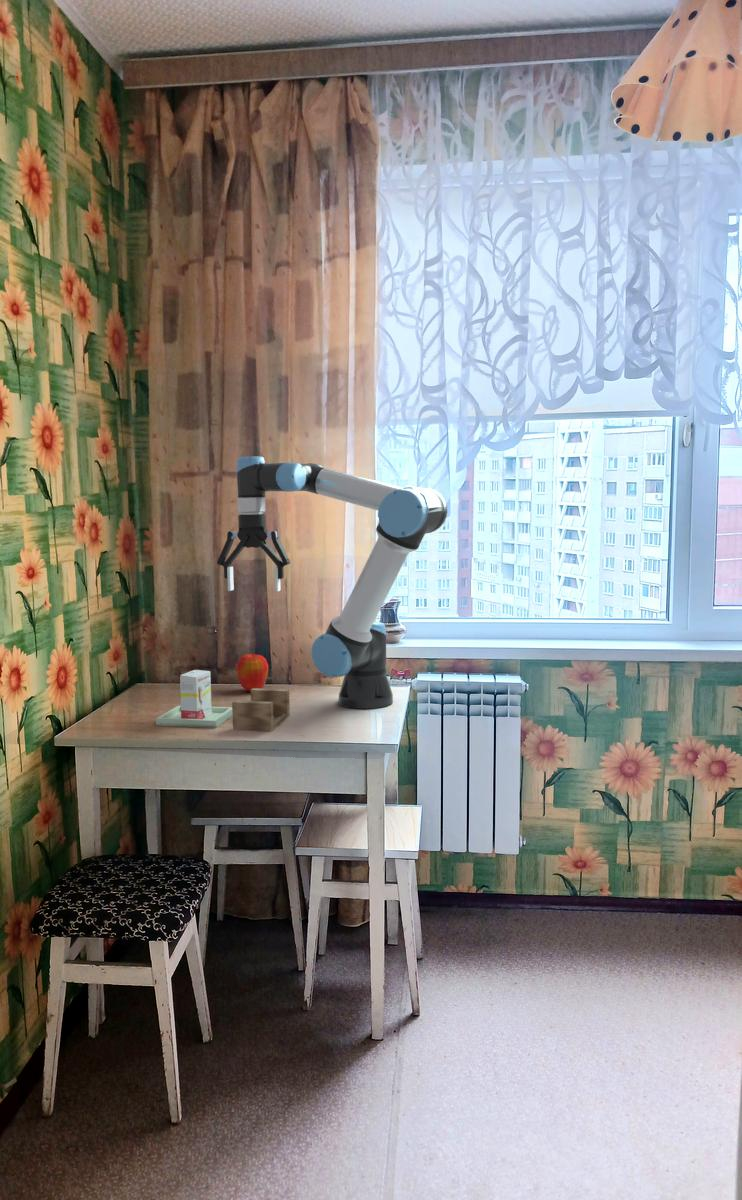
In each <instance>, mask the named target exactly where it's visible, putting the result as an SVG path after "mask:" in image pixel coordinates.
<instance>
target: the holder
mask: <svg viewBox="0 0 742 1200" xmlns="http://www.w3.org/2000/svg"><path fill="white" fill-rule="evenodd" d="M290 704H291V702H290V689H283V688H281V689H280V688H262V689H259V688H253V689H251V692H250V700H237V699H236V700H233V701H232V702H231V708H232V714H233V716H232V731H255V732H272V731H273V730H275V729H276V728H277V727H278V726H279V725H281V723H283V722H284V721H285V720H286V719H288V718H289V717H290V716H291V715H290V713H291V710H290V709H291V708H290V707H291V706H290ZM274 718H276V719H275V720H274Z"/></svg>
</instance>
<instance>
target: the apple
mask: <svg viewBox="0 0 742 1200" xmlns="http://www.w3.org/2000/svg"><path fill="white" fill-rule="evenodd" d="M236 673H237V677H238V680H239V683H240V686H241V687H242V688H243V689H244V690H245V691H246V692H250V693H251V689H253V688H259V689H264V687H265V684H266V682H267V678H268V675H269V664H268V661H267V659H266V658H265V657H264V656H263V655H260V654H256V653H255V654H254V653H253V652H251V653H247V654H244V655H241V657H240V658H239V659H238V662H237V665H236Z"/></svg>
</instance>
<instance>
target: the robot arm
mask: <svg viewBox="0 0 742 1200" xmlns="http://www.w3.org/2000/svg"><path fill="white" fill-rule="evenodd" d="M235 473H236V482H237V512H238V513H239V514H238V516H237V517H238V518H237V520H238V523H237V524H238V531H233V530H230V531H227V535H226V536H227V537H226V541H225V543H224V544H223V547H222V550H221V552H220V555H219V557H218V559H217V561H216V564H217V565H218V566H222V567H223V577H224V579H225V580H226V579H227V592H231V591H234V590H235V586H234V584H235V583H234V566H232V564H233V563H234V561H235V560H236V558H237V557H238V556H239V555H240V553H241V552H242V551H243V550H244V548H255V549H256V548H257V549H258V548H261V549H262V550H263V551H264V553H266V555H267V556H268V557H269V559H270V560H272V562H273V563H274V564H275V565H276V566H275V567H274V591H275V592H280V591H281V588H282V587H281V585H282V584H281V580H283V579H284V576H285V575H284V567H286V566H288V565H290V564H291V561H290V559H289V557H288V555H287V553H286V551H285V549H284V546H283V544H282V543H281V541H280V539H279V534H278V530H273V531H269V532H268V531H267V516H266V514H265V513H266V511H267V510H266V504H267V503H266V492H286V493H289V492H290V493H291V492H292V493H293V492H308V493H312V494H316V495H319V496H324V497H328V498H332V499H335V500H339V501H342V502H345V503H350V504H353V505H356V506H360V507H363V508H368V509H371V510H375V511H377V517H378V524H377V525H376V529H375V531H376V534H377V540H376V542H375V543H374V546H373V548H372V550H371V552H370V554H369V556H368V558H367V560H366V561H365V564H364V566H363V568H362V570H361V573H360V574H359V576H358V578H357V580H356V582H355V584H354V587H353V589H352V590H351V592H350V595H349V597H348V598H347V601H346V603H345V605H344V608H343V609H342V611H341V613H340V615H338V616H334V617H332V619H331V620H330V622H329V624H328V627H327V628H326V630H325V633H323V634H321V635H319V636H317V638H315V640H314V641H313V643H312V645H311V653H310V654H311V659H312V661H313V664H314V667H315V668H316V669H317V671H319V672H320V674H322V675H324V676H326V677H328V678H339V677H340V678H341V677H343V680H342V683H341V687H340V689H339V692H338V704H339V705H340V706H342V707H346V708H352V709H378V708H385V707H388V706H391V705H392V704H393V702H394V701H393V700H394V697H393V691H392V688H391V685H390V683H389V679H388V676H387V631H386V630H387V629H386V625H385V624H384V623H383V622H381V621H376V618H377V616H378V614H379V613H380V610H381V608H382V607H383V604H384V603H385V600H387V599H386V598H387V597H388V595H389V592H390V590H391V589H392V586H393V585H394V583H395V581H396V579H397V577H398V575H399V573H400V571H401V569H402V567H403V564H404V563H405V561H406V559H407V557H408V555H409V553H412V552H414V551H417V550H418V549H419V547H420V544H421V543H422V540H423V539H424V537H425V535H427V534H431V533H433V532H435V531H437V530H439V529H441V527H442V526H443V525H444V523H445V521H446V519H447V516H448V505H447V502H446V500H445V498H444V497H443V495H442V494H441V493H440V492H438V491H437V490H435V489H432V488H428V487H427V488H426V487H417V486H413V485H406V486H405V487H401V486H397V485H393V484H390V483H386V482H385V483H384V482H380V481H378V480H373V479H370V478H366V477H361V476H357V475H354V474H350V473H346V472H342V471H339V470H334V469H332V468H331V469H330V468H327V467H324V466H322V465H320V464H317V463H311V462H309V463H298V462H292V461H291V462H275V463H271V462H270V463H268V462H267V463H266V461H265V457H263V456H257V455H255V456H254V455H253V456H240V457H238V459H237V460H236V472H235ZM237 538H238V539H239V541H240V542H239V543H238V544H236V547H235V548H234V550H233V551H232V552H231V554H230V555H229V553H230V550H231V548H232V546H233V544H234V540H236V539H237ZM267 538H269V540H271V542H272V545H273V546H274V547H275V550H276V551H277V554H278V555H279V556H278V555H277V554H276V552H275V551H274V550H273V549H272V547H270V545H269V543H268V542H267V541H266V540H267ZM228 555H229V556H228Z"/></svg>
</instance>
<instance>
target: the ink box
mask: <svg viewBox="0 0 742 1200" xmlns="http://www.w3.org/2000/svg"><path fill="white" fill-rule="evenodd" d="M179 679H180V681H179V683H180V685H179V686H180V688H179V689H180V691H179V692H180V706H181V718H183V719H203V718H205V717H207V716H209V715H211V714H212V710H211V707H212V685H211V681H212V680H211V671H210V670H202V669H193V670H190V671H187V672H185V673H182V674H180V677H179Z"/></svg>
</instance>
